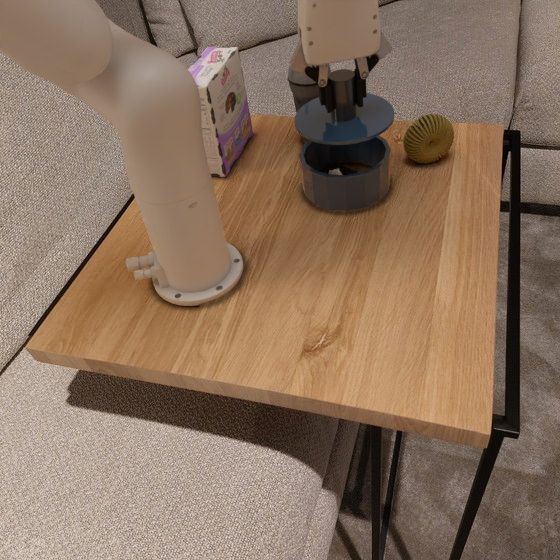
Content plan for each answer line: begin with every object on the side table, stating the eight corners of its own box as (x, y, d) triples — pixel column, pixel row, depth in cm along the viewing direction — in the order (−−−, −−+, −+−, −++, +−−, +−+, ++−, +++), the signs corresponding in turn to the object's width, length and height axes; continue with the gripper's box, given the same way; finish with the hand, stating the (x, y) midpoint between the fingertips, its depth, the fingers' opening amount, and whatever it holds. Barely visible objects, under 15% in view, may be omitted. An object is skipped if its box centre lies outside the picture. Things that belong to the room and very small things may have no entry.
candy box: (224, 133, 109) (207, 44, 97) (254, 135, 107) (239, 45, 95) (194, 175, 99) (171, 83, 88) (226, 178, 98) (206, 85, 86)
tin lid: (304, 157, 79) (298, 109, 74) (288, 108, 89) (282, 63, 84) (407, 137, 79) (408, 88, 74) (379, 91, 90) (379, 45, 85)
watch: (318, 180, 93) (316, 161, 91) (341, 169, 95) (340, 149, 92) (348, 202, 88) (347, 182, 86) (372, 189, 90) (372, 169, 87)
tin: (311, 220, 87) (308, 184, 83) (297, 171, 97) (293, 137, 92) (400, 204, 87) (401, 167, 83) (376, 157, 97) (376, 122, 93)
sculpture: (407, 172, 93) (409, 127, 87) (399, 159, 96) (400, 115, 90) (455, 162, 93) (460, 116, 88) (445, 149, 96) (450, 104, 91)
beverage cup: (332, 149, 100) (325, 31, 86) (290, 149, 102) (277, 33, 88) (338, 127, 105) (331, 12, 91) (298, 127, 107) (286, 15, 93)
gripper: (395, -57, 73) (393, 83, 85) (263, -33, 72) (281, 104, 85) (413, -39, 67) (408, 107, 80) (271, -14, 67) (289, 129, 80)
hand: (343, 104), depth 82 cm, fingers closed on tin lid, 3 cm apart
